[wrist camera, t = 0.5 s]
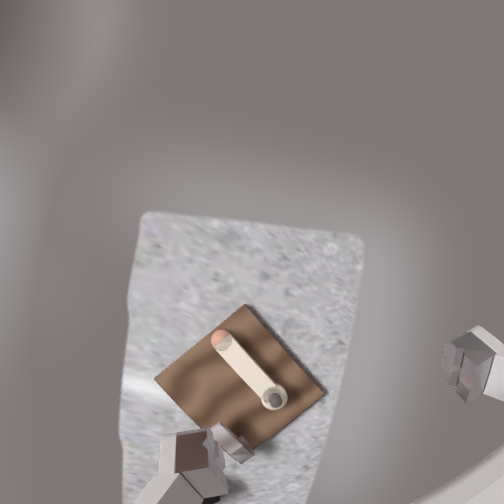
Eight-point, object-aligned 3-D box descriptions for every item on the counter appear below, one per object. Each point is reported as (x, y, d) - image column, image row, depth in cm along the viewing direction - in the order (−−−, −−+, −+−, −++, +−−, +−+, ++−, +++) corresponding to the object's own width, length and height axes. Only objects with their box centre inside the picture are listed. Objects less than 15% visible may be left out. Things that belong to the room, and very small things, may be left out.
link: (290, 394, 54) (292, 398, 52) (271, 409, 54) (272, 414, 51) (225, 322, 55) (225, 324, 53) (205, 339, 55) (204, 341, 52)
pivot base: (322, 391, 57) (331, 401, 50) (235, 457, 54) (236, 472, 48) (244, 303, 57) (245, 306, 51) (155, 376, 55) (147, 386, 49)
